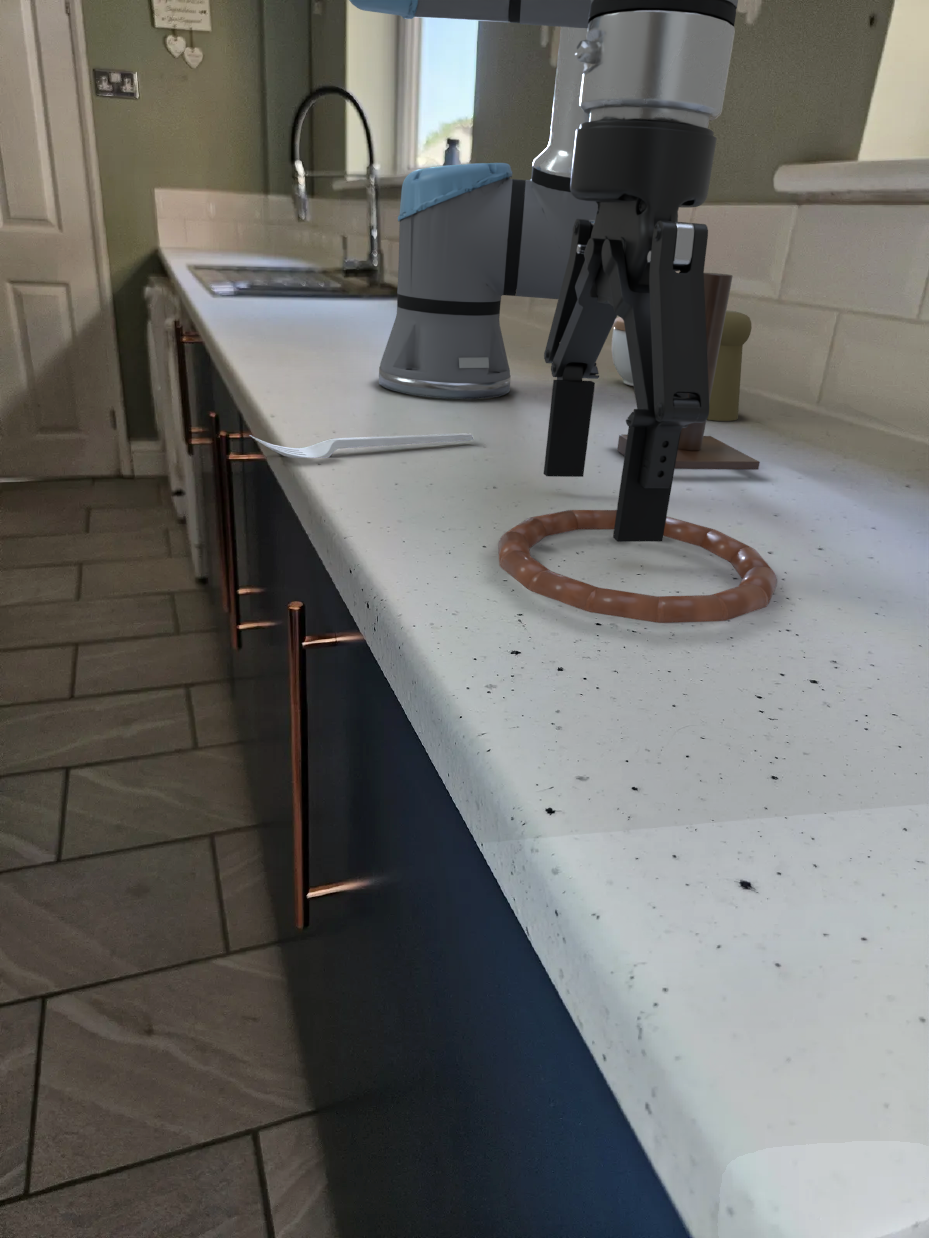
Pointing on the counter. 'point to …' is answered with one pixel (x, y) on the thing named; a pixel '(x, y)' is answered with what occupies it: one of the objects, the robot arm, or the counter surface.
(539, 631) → the counter surface
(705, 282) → the rail post
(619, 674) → the counter surface
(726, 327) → the olive pepper mill
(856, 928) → the counter surface
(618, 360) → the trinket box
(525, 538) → the ring
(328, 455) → the fork
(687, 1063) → the counter surface
